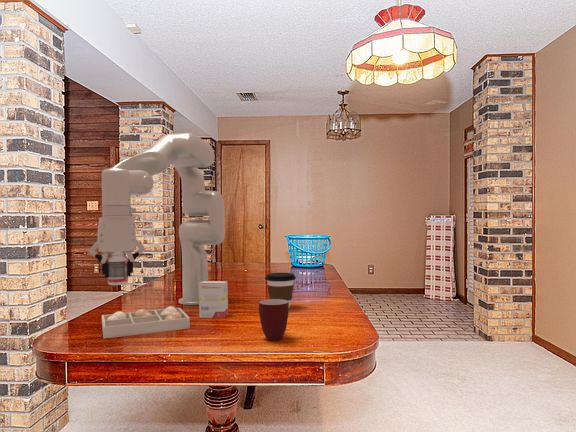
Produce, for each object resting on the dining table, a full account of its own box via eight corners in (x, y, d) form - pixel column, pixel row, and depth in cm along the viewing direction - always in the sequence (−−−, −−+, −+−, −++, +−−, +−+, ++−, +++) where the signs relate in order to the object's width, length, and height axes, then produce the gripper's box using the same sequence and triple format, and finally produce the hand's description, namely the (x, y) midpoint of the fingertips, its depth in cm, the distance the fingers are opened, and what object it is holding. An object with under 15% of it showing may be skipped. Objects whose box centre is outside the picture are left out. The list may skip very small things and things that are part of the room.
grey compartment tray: (179, 318, 144) (179, 307, 144) (189, 330, 130) (189, 317, 130) (101, 327, 135) (101, 315, 134) (103, 340, 120) (103, 327, 120)
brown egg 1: (130, 324, 135) (130, 309, 135) (141, 320, 139) (141, 307, 139) (146, 326, 132) (146, 312, 132) (157, 323, 136) (157, 309, 136)
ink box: (228, 316, 147) (228, 280, 146) (224, 319, 142) (224, 283, 142) (203, 315, 148) (203, 280, 148) (198, 319, 143) (198, 282, 143)
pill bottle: (130, 284, 125) (129, 249, 125) (110, 286, 122) (109, 250, 122) (125, 281, 129) (124, 248, 129) (105, 283, 126) (105, 249, 126)
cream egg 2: (169, 318, 142) (168, 304, 142) (180, 319, 141) (180, 305, 141) (156, 323, 136) (155, 309, 136) (168, 324, 135) (167, 310, 135)
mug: (260, 332, 126) (260, 297, 126) (289, 332, 126) (288, 297, 126) (258, 343, 116) (257, 305, 116) (289, 343, 116) (288, 304, 116)
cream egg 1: (119, 323, 136) (119, 309, 136) (130, 324, 134) (129, 310, 134) (102, 328, 130) (102, 314, 130) (113, 330, 128) (113, 315, 128)
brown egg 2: (171, 323, 135) (171, 309, 135) (184, 324, 134) (184, 309, 134) (160, 329, 129) (160, 314, 129) (173, 330, 128) (173, 315, 128)
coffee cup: (302, 307, 158) (302, 274, 158) (281, 313, 150) (280, 277, 150) (280, 303, 165) (279, 271, 165) (259, 308, 157) (258, 274, 157)
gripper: (146, 212, 132) (147, 272, 132) (83, 212, 125) (84, 277, 125) (149, 212, 125) (150, 276, 125) (83, 212, 118) (84, 280, 119)
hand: (117, 275), depth 125 cm, fingers closed on pill bottle, 5 cm apart
